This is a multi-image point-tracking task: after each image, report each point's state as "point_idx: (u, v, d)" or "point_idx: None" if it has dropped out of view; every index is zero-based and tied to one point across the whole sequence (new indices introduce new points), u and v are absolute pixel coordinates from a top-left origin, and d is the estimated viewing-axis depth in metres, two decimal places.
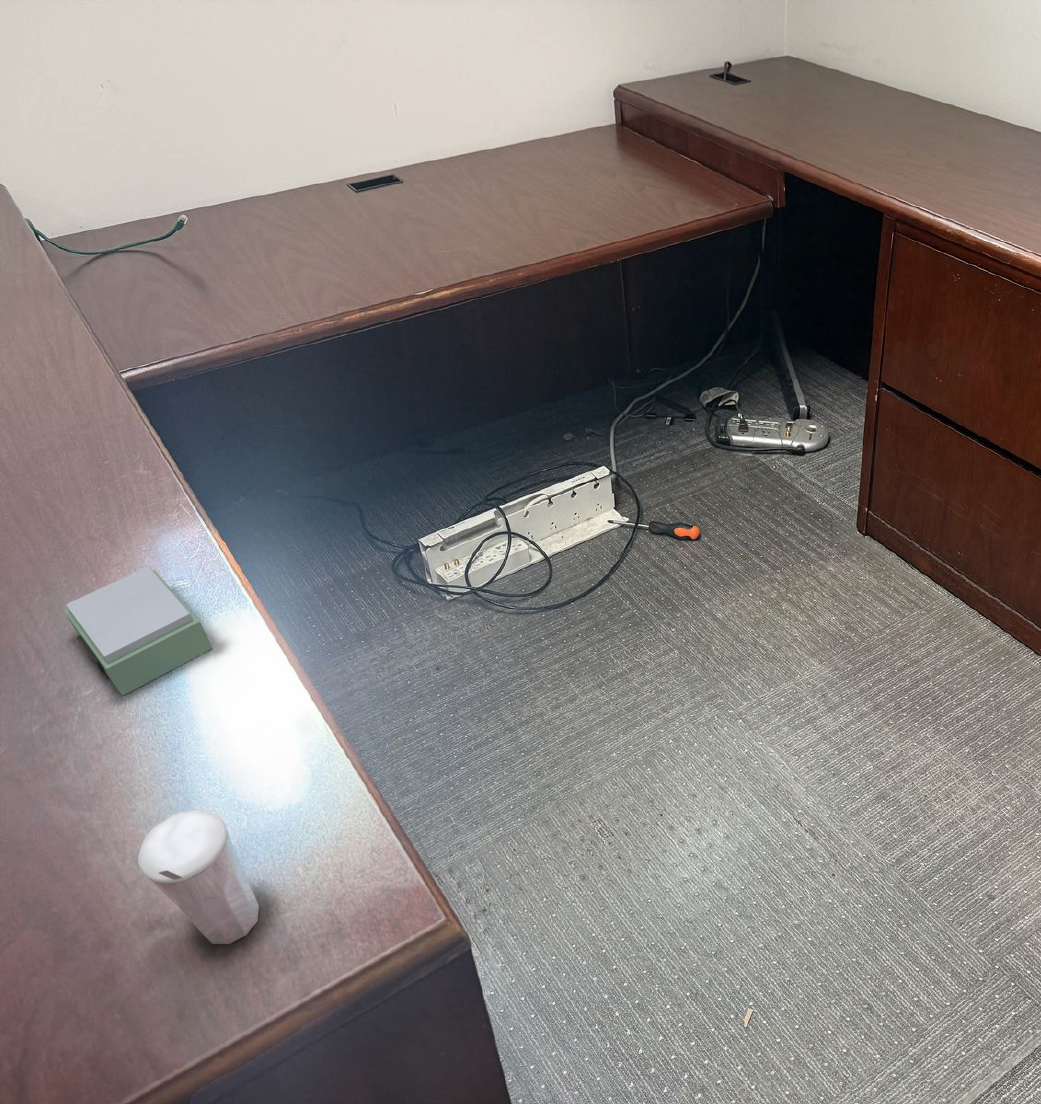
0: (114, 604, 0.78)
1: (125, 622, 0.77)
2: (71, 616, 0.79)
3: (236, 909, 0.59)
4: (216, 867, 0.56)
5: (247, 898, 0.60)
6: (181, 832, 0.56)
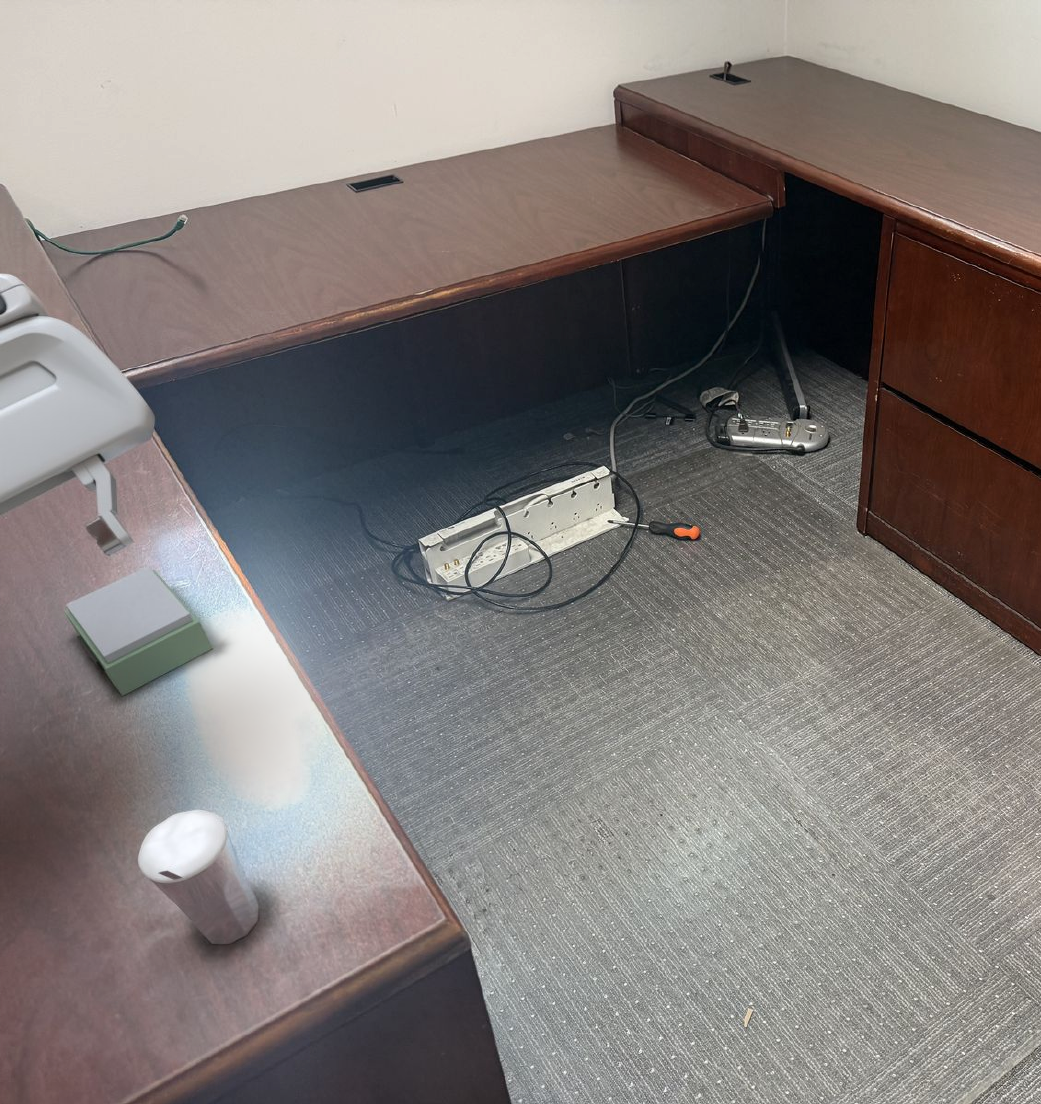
0: (114, 604, 0.78)
1: (125, 622, 0.77)
2: (71, 616, 0.79)
3: (236, 909, 0.59)
4: (216, 867, 0.56)
5: (247, 898, 0.60)
6: (181, 832, 0.56)
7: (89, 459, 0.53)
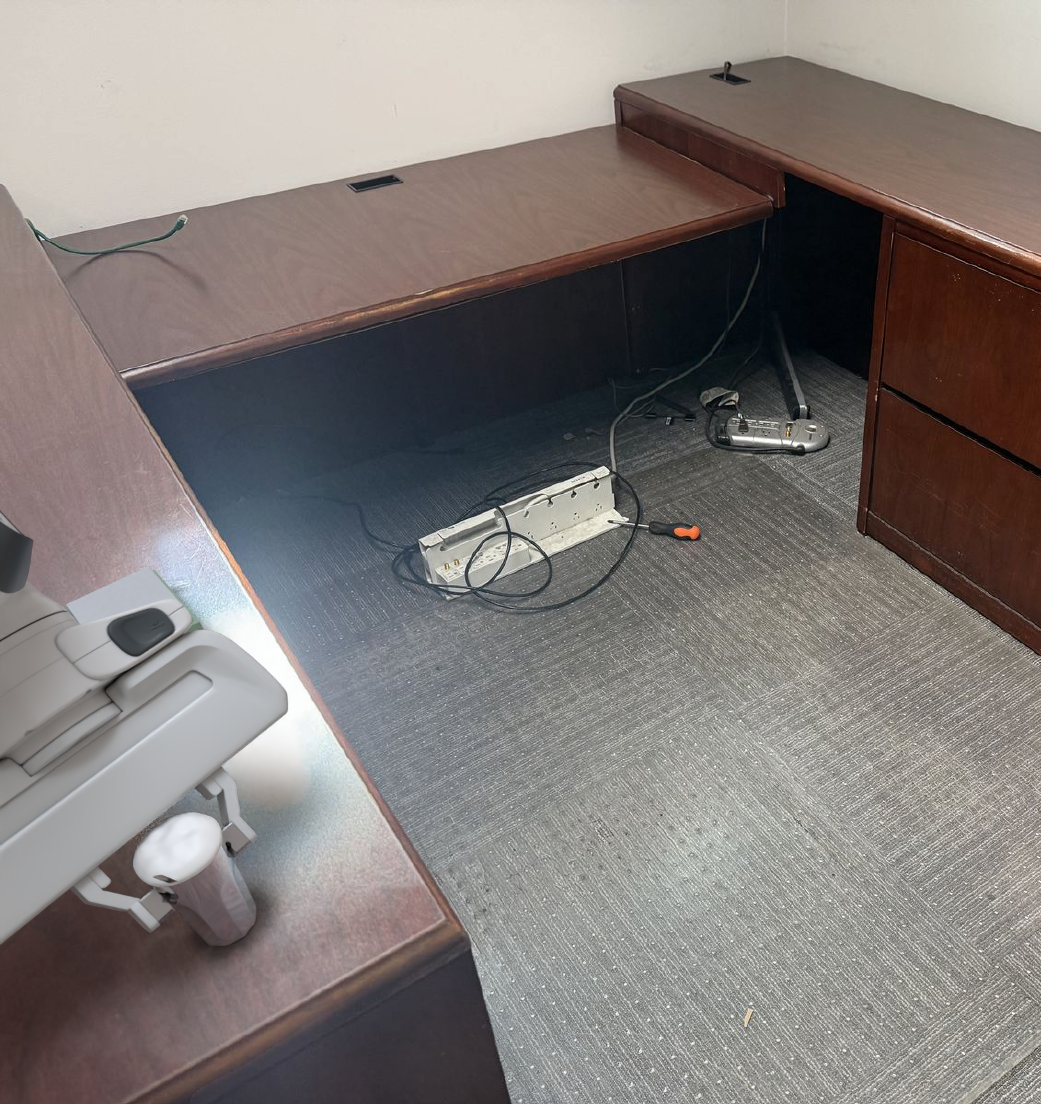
0: (114, 604, 0.78)
1: None
2: None
3: (232, 910, 0.59)
4: (211, 870, 0.56)
5: (244, 900, 0.60)
6: (175, 836, 0.56)
7: (216, 771, 0.59)
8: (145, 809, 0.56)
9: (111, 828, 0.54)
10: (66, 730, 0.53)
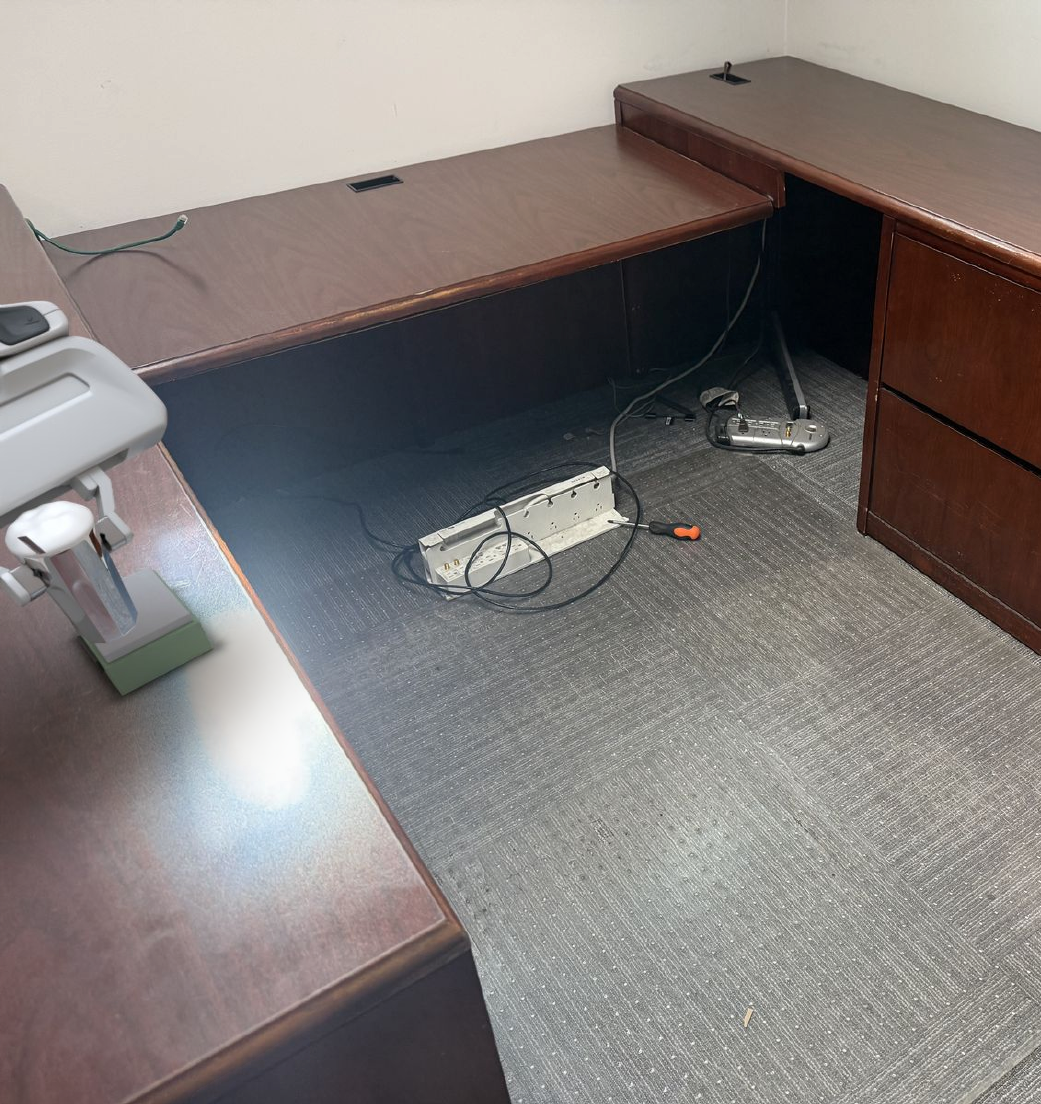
0: None
1: None
2: None
3: (109, 603, 0.62)
4: (81, 549, 0.59)
5: (121, 597, 0.62)
6: (46, 515, 0.58)
7: (91, 468, 0.61)
8: (17, 488, 0.58)
9: None
10: None
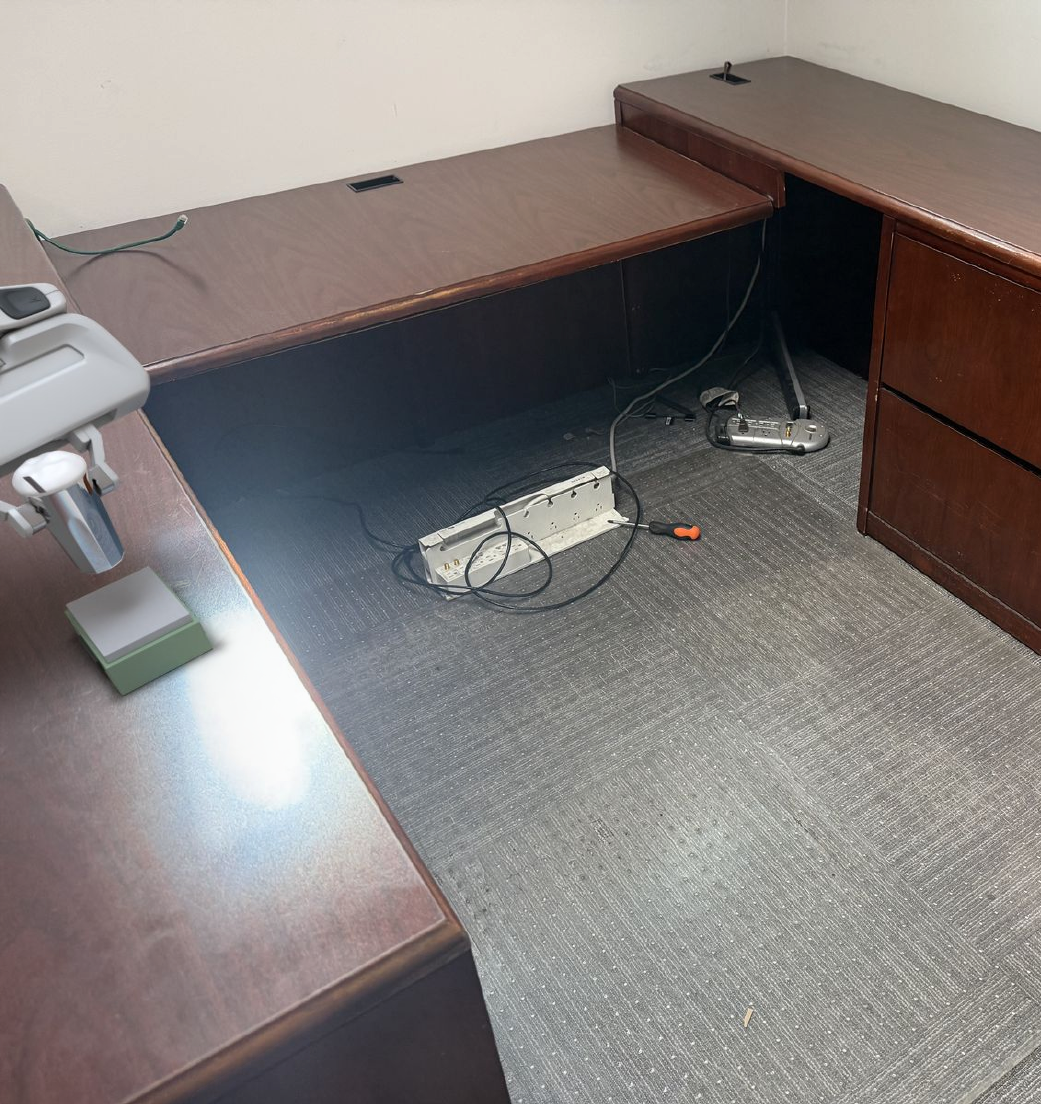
0: (114, 604, 0.78)
1: (125, 622, 0.77)
2: (71, 616, 0.79)
3: (99, 539, 0.73)
4: (76, 490, 0.70)
5: (110, 534, 0.74)
6: (46, 461, 0.69)
7: (85, 425, 0.73)
8: (22, 438, 0.69)
9: None
10: None
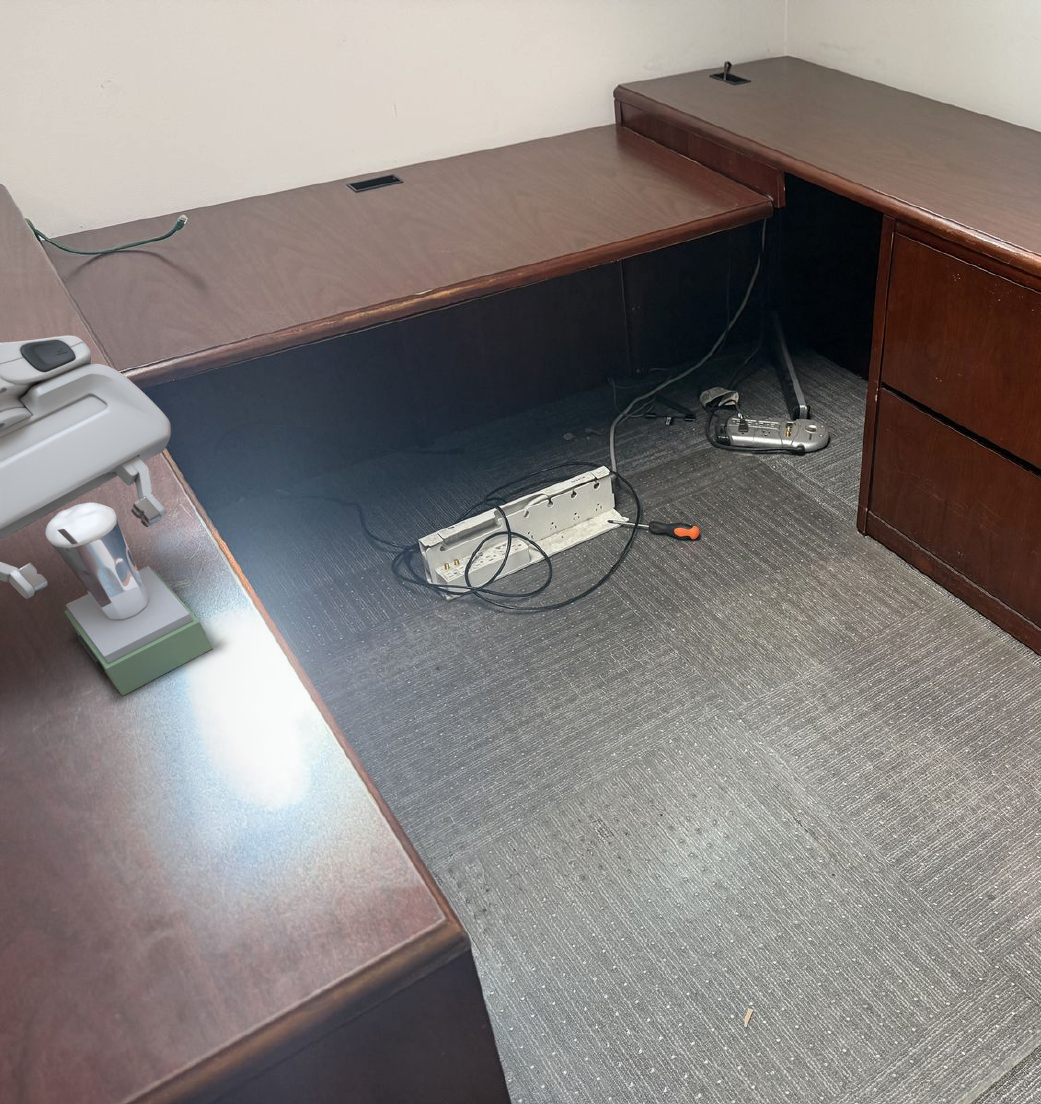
0: None
1: (125, 622, 0.77)
2: (71, 616, 0.79)
3: (126, 586, 0.76)
4: (106, 541, 0.73)
5: (136, 581, 0.77)
6: (79, 513, 0.73)
7: (133, 458, 0.76)
8: (49, 487, 0.72)
9: (22, 496, 0.71)
10: None
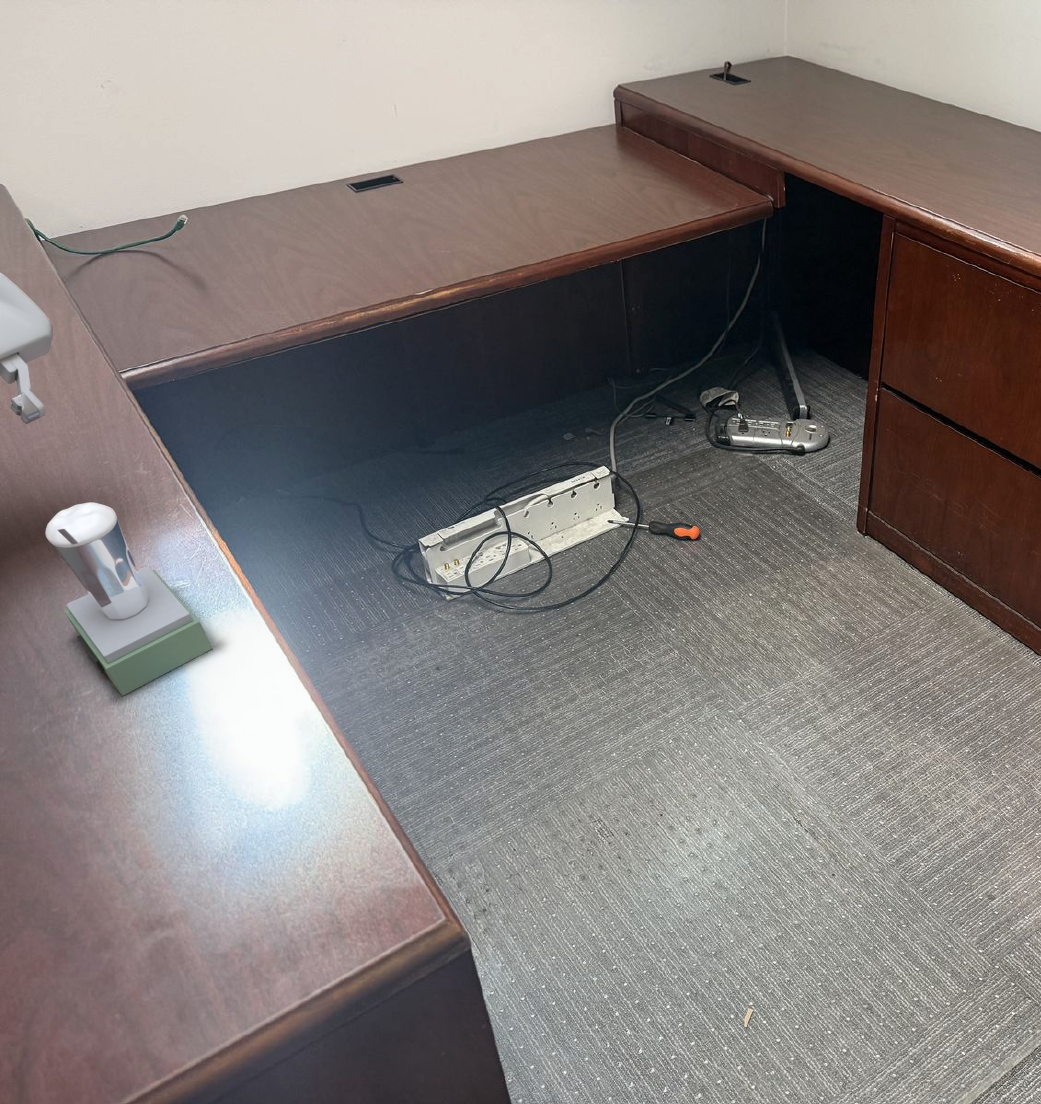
0: None
1: (125, 622, 0.77)
2: (71, 616, 0.79)
3: (126, 586, 0.76)
4: (107, 541, 0.73)
5: (136, 581, 0.77)
6: (79, 513, 0.73)
7: (12, 356, 0.78)
8: None
9: None
10: None
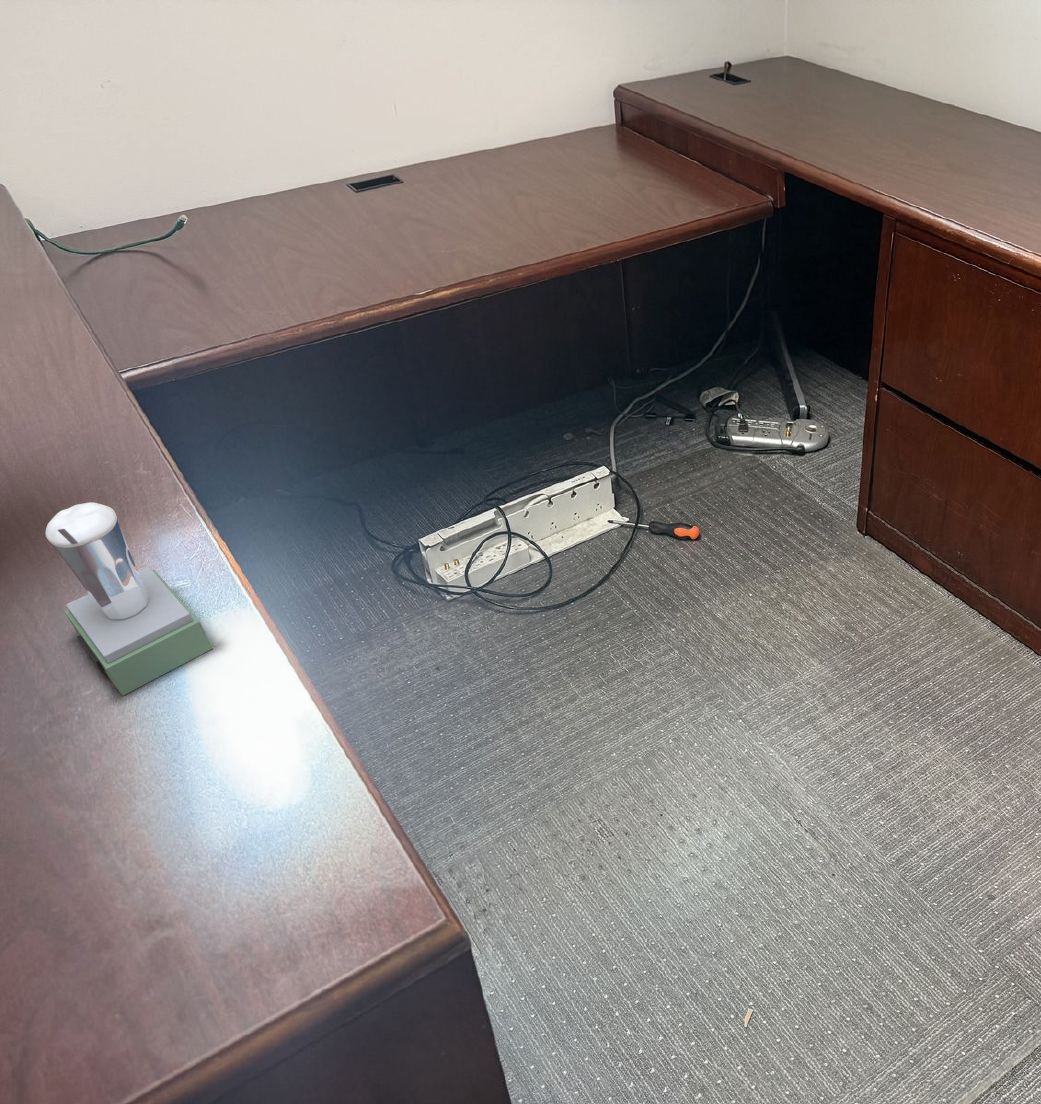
0: None
1: (125, 622, 0.77)
2: (71, 616, 0.79)
3: (126, 586, 0.76)
4: (107, 541, 0.73)
5: (136, 581, 0.77)
6: (79, 513, 0.73)
7: None
8: None
9: None
10: None
